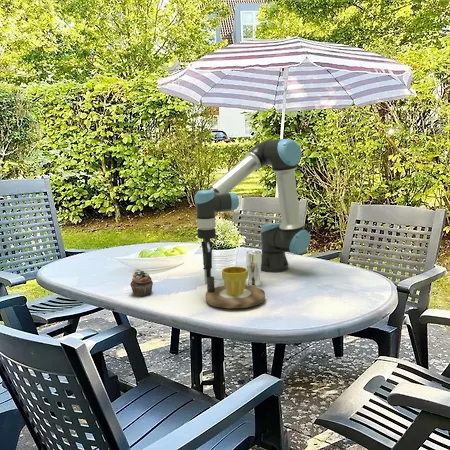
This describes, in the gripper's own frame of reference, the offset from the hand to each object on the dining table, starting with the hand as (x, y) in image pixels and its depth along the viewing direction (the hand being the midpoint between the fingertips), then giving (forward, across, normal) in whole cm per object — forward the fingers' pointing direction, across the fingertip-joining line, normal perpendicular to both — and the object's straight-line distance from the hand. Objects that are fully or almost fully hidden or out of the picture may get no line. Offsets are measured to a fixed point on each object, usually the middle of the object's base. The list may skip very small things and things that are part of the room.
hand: (208, 283), depth 199 cm
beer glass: (+6, -11, +23) cm, 26 cm away
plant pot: (+2, +9, +10) cm, 14 cm away
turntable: (+4, +9, +10) cm, 14 cm away
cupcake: (+6, -11, -27) cm, 30 cm away
